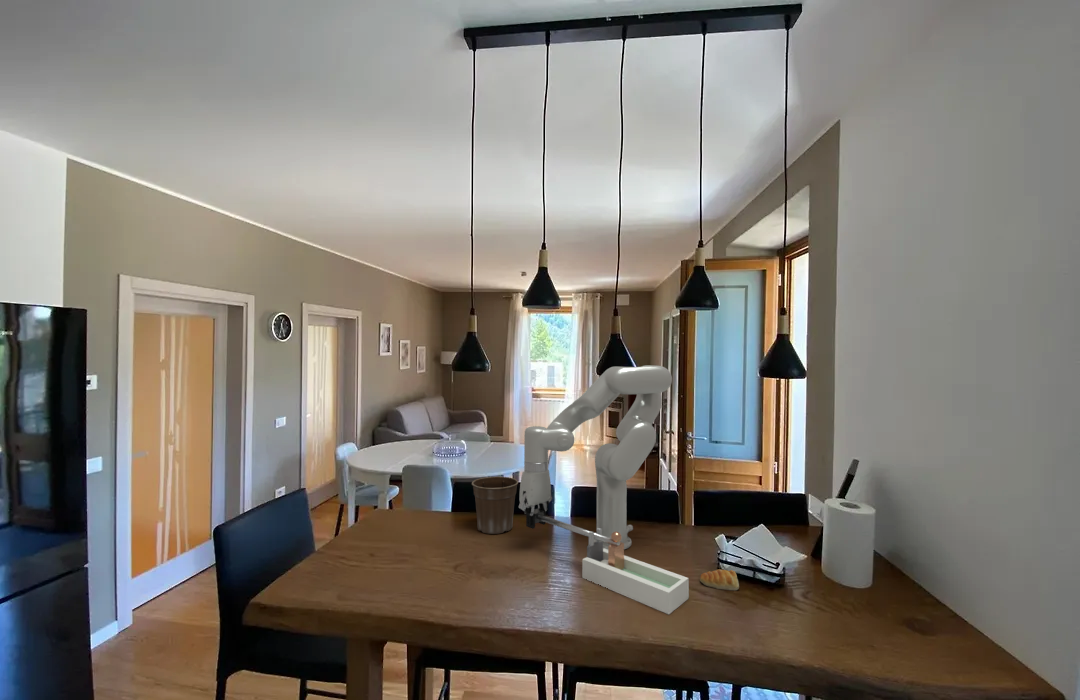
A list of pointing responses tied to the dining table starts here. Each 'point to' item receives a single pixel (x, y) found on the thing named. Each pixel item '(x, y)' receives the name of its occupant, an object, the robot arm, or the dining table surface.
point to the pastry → (720, 579)
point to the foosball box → (635, 579)
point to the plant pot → (494, 503)
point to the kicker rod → (613, 550)
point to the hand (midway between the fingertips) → (535, 524)
